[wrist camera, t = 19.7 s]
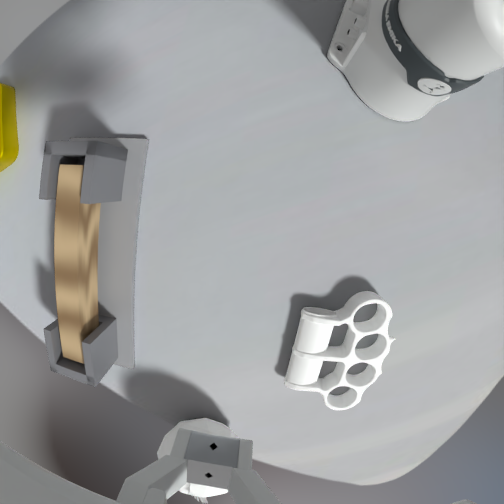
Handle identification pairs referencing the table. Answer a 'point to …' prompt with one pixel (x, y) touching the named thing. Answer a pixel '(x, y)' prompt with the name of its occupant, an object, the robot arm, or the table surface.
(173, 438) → the geodesic sphere
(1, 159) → the element tile
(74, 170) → the oak slat
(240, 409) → the table surface
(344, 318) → the knuckle duster
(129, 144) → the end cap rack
